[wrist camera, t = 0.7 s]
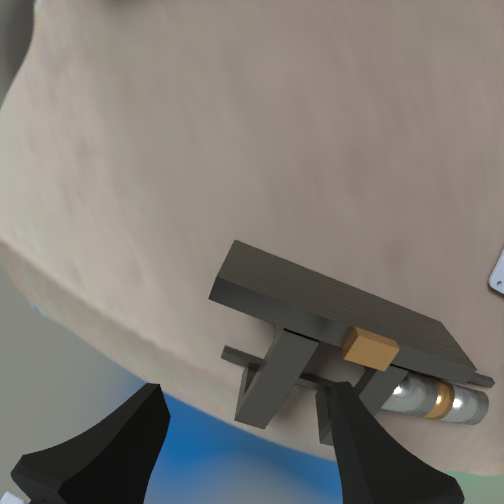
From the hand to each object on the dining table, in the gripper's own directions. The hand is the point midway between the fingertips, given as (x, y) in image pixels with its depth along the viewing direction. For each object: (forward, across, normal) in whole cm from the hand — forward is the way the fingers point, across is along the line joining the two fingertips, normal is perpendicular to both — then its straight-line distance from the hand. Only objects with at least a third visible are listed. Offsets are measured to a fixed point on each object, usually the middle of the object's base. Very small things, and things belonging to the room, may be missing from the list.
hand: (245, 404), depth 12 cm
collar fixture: (+9, -8, +6) cm, 14 cm away
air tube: (+9, -13, +9) cm, 19 cm away
